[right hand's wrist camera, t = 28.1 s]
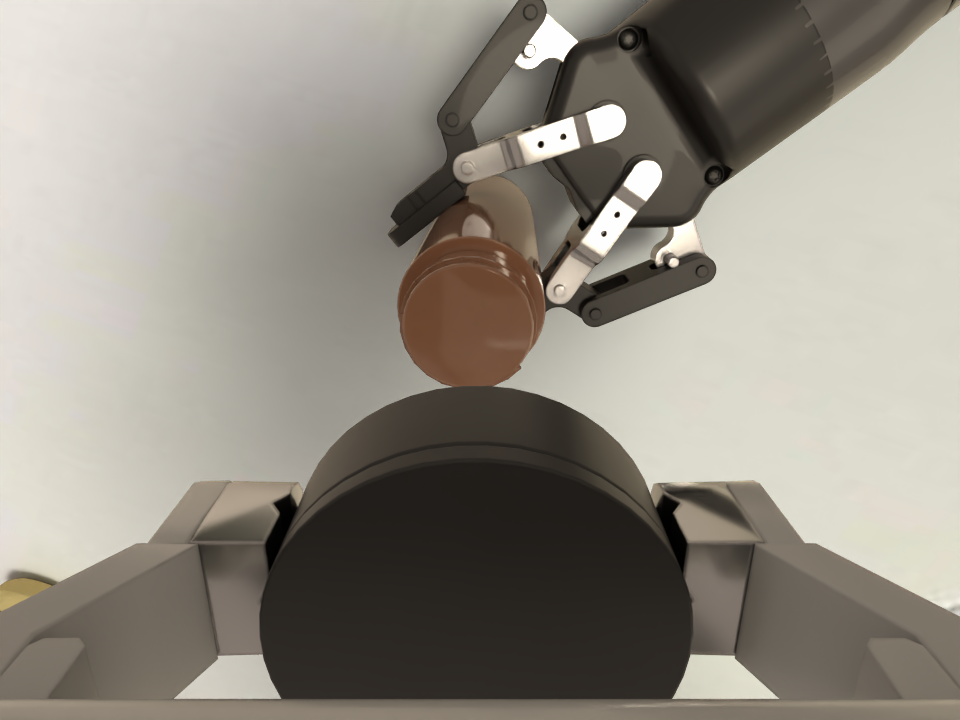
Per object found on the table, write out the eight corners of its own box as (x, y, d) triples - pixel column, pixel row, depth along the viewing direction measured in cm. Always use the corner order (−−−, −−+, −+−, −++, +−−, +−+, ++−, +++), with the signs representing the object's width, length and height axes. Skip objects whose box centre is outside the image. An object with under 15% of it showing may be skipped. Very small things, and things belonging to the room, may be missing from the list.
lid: (224, 534, 10) (167, 635, 8) (491, 305, 9) (494, 365, 7) (466, 724, 12) (463, 845, 10) (726, 555, 10) (779, 659, 8)
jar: (422, 218, 35) (354, 323, 20) (489, 154, 34) (470, 214, 19) (484, 284, 36) (464, 428, 21) (551, 224, 35) (581, 333, 20)
